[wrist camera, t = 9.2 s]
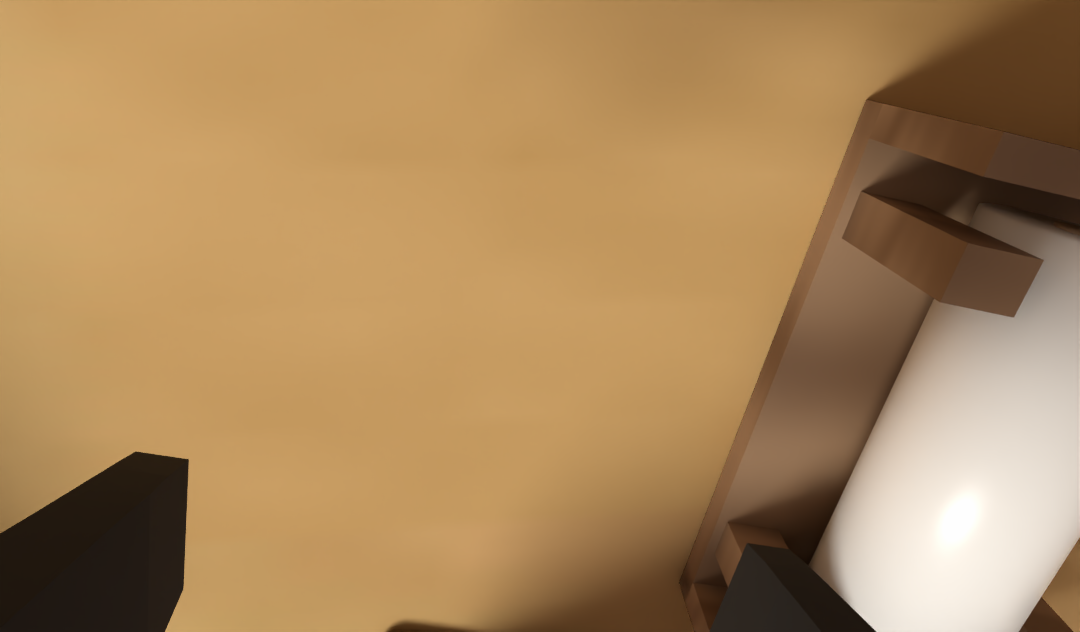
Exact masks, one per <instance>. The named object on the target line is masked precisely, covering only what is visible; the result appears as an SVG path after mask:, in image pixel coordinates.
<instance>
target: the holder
mask: <svg viewBox="0 0 1080 632" xmlns="http://www.w3.org/2000/svg"><path fill="white" fill-rule="evenodd" d="M979 203H991V204H997V205H1003V206H1008V207H1013V208H1017V209H1022V210H1026V211H1031V212H1035V213H1039V214H1043V215H1047V216H1051V217H1055V218H1059V219H1062V220H1066V221H1070V222H1074V223H1077V224H1080V150H1077V149H1073V148H1068V147H1064V146H1060V145H1056V144H1052V143H1048V142H1044V141H1040V140H1036V139H1032V138H1028V137H1024V136H1020V135H1016V134H1012V133H1007V132H1003V131H999V130H995V129H990V128H986V127H982V126H977V125H973V124H969V123H965V122H960V121H956V120H952V119H947V118H943V117H939V116H934V115H930V114H926V113H921V112H917V111H913V110H908V109H904V108H900V107H896V106H891V105H887V104H883V103H878V102H874V101H870V100H866V102H865V105H864V107H863V110H862V112H861V115H860V117H859V120H858V123H857V125H856V128H855V130H854V133H853V136H852V138H851V141H850V143H849V146H848V148H847V151H846V154H845V156H844V159H843V161H842V164H841V166H840V169H839V172H838V174H837V177H836V179H835V182H834V185H833V187H832V190H831V192H830V195H829V197H828V200H827V203H826V205H825V208H824V210H823V213H822V216H821V218H820V221H819V223H818V226H817V228H816V231H815V234H814V236H813V239H812V241H811V244H810V246H809V249H808V252H807V254H806V257H805V259H804V262H803V265H802V267H801V270H800V272H799V275H798V277H797V280H796V283H795V285H794V288H793V290H792V293H791V296H790V298H789V301H788V303H787V306H786V308H785V311H784V314H783V316H782V319H781V321H780V324H779V327H778V329H777V332H776V334H775V337H774V339H773V342H772V345H771V347H770V350H769V352H768V355H767V357H766V360H765V363H764V365H763V368H762V370H761V373H760V376H759V378H758V381H757V383H756V386H755V388H754V391H753V394H752V396H751V399H750V401H749V404H748V407H747V409H746V412H745V414H744V417H743V419H742V422H741V425H740V427H739V430H738V432H737V435H736V437H735V440H734V443H733V445H732V448H731V450H730V453H729V456H728V458H727V461H726V463H725V466H724V468H723V471H722V474H721V476H720V479H719V481H718V484H717V487H716V489H715V492H714V494H713V497H712V499H711V502H710V505H709V507H708V510H707V512H706V515H705V518H704V520H703V523H702V525H701V528H700V530H699V533H698V536H697V538H696V541H695V543H694V546H693V548H692V551H691V554H690V556H689V559H688V561H687V564H686V567H685V569H684V572H683V574H682V577H681V579H680V582H679V584H680V588H681V591H682V594H683V597H684V600H685V603H686V607H687V610H688V613H689V616H690V619H691V622H692V626H693V629H694V632H709V631H710V629H711V627H712V624H713V622H714V620H715V617H716V615H717V613H718V610H719V608H720V605H721V603H722V601H723V598H724V596H725V594H726V591H727V589H728V587H729V584H730V582H731V579H732V577H733V575H734V572H735V570H736V568H737V565H738V563H739V561H740V558H741V556H742V553H743V551H744V549H745V546H746V544H747V543H751V544H758V545H765V546H771V547H778V548H785V549H790V550H791V551H792V552H793V553H794V554H795V555H797V556H798V557H799V558H800V559H801V560H802V561H803V562H805V563H806V564H807V565H809V563H810V561H811V559H812V557H813V555H814V552H815V550H816V548H817V546H818V544H819V542H820V540H821V538H822V536H823V533H824V531H825V529H826V527H827V525H828V523H829V521H830V519H831V516H832V514H833V512H834V510H835V508H836V506H837V504H838V502H839V499H840V497H841V495H842V493H843V491H844V489H845V487H846V485H847V482H848V480H849V478H850V476H851V474H852V472H853V470H854V468H855V465H856V463H857V461H858V459H859V457H860V455H861V453H862V451H863V449H864V446H865V444H866V442H867V440H868V438H869V436H870V434H871V432H872V429H873V427H874V425H875V423H876V421H877V419H878V417H879V415H880V412H881V410H882V408H883V406H884V404H885V402H886V400H887V398H888V395H889V393H890V391H891V389H892V387H893V385H894V383H895V381H896V378H897V376H898V374H899V372H900V370H901V368H902V366H903V364H904V362H905V359H906V357H907V355H908V353H909V351H910V349H911V347H912V345H913V342H914V340H915V338H916V336H917V334H918V332H919V330H920V328H921V325H922V323H923V321H924V319H925V317H926V315H927V313H928V311H929V308H930V306H931V304H932V302H933V300H934V299H935V300H937V301H939V302H940V303H945V304H950V305H955V306H960V307H965V308H969V309H974V310H979V311H984V312H989V313H994V314H999V315H1003V316H1008V317H1013V318H1014V317H1015V315H1016V313H1017V311H1018V309H1019V307H1020V305H1021V303H1022V301H1023V299H1024V297H1025V296H1026V294H1027V292H1028V290H1029V288H1030V286H1031V284H1032V282H1033V280H1034V278H1035V277H1036V275H1037V273H1038V271H1039V269H1040V267H1041V265H1042V263H1043V261H1044V260H1043V259H1040V258H1038V257H1036V256H1034V255H1032V254H1029V253H1027V252H1025V251H1023V250H1020V249H1018V248H1016V247H1014V246H1012V245H1009V244H1007V243H1005V242H1003V241H1001V240H998V239H996V238H994V237H992V236H989V235H987V234H985V233H983V232H981V231H978V230H976V229H974V228H972V227H969V224H970V221H971V219H972V217H973V215H974V213H975V211H976V209H977V207H978V205H979ZM1019 632H1073V631H1072V630H1071V629H1070V628H1069V627H1068V625H1067V624H1066V623H1065V622H1064V621H1063V620H1062V619H1061V618H1060V617H1059V616H1058V615H1057V614H1056V613H1055V611H1054V610H1053V609H1052V608H1051V607H1050V606H1049V605H1048V604H1047V603H1046V602H1045V601H1044V600H1043V599H1042V597H1041V598H1040V600H1039V601H1038V603H1037V604H1036V606H1035V607H1034V609H1033V610H1032V612H1031V614H1030V615H1029V617H1028V618H1027V620H1026V621H1025V623H1024V624H1023V626H1022V627H1021V629H1020V631H1019Z"/></svg>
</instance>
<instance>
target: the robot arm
mask: <svg viewBox="0 0 1080 632" xmlns="http://www.w3.org/2000/svg"><path fill="white" fill-rule="evenodd" d="M188 462H189V460H188V459H182V458H175V457H168V456H162V455H155V454H148V453H142V452H134V453H133V454H131V455H129V456H127V457H126V458H124V459H122V460H121V461H119V462H117V463H116V464H114V465H112V466H111V467H109V468H107V469H106V470H104V471H103V472H101V473H99V474H98V475H96V476H94V477H93V478H91V479H89V480H88V481H86V482H85V483H83V484H81V485H80V486H78V487H76V488H75V489H73V490H71V491H70V492H68V493H67V494H65V495H63V496H62V497H60V498H58V499H57V500H55V501H54V502H52V503H50V504H49V505H47V506H45V507H44V508H42V509H40V510H39V511H37V512H35V513H34V514H32V515H31V516H29V517H27V518H26V519H24V520H22V521H21V522H19V523H17V524H16V525H14V526H12V527H11V528H9V529H7V530H6V531H4V532H2V533H0V632H165V630H166V628H167V625H168V623H169V621H170V618H171V616H172V614H173V611H174V609H175V607H176V604H177V602H178V600H179V598H180V595H181V593H182V591H183V584H184V560H185V535H186V511H187V487H188ZM709 632H876V631H875V630H874V629H873V628H872V627H871V626H870V625H869V624H868V623H867V622H866V621H865V620H864V619H863V618H862V617H861V616H860V615H859V614H858V613H857V612H856V611H855V610H854V609H853V608H852V607H851V606H850V605H849V604H848V603H847V602H846V601H845V600H844V599H843V598H842V597H841V596H839V595H838V594H837V593H836V592H835V591H834V590H833V589H832V588H831V587H830V586H829V585H828V584H827V583H826V582H825V581H824V580H823V579H822V578H821V577H820V576H819V575H818V574H817V573H815V572H814V571H813V570H812V569H811V568H810V567H809V566H808V565H807V564H806V563H805V562H803V561H802V560H801V559H800V558H799V557H798V556H797V555H795V554H794V553H793V552H792V551H791V550H790V549H785V548H778V547H771V546H765V545H758V544H751V543H747V544H746V546H745V549H744V551H743V553H742V556H741V558H740V561H739V563H738V565H737V568H736V570H735V572H734V575H733V577H732V579H731V582H730V584H729V587H728V589H727V591H726V594H725V596H724V598H723V601H722V603H721V605H720V608H719V610H718V613H717V615H716V617H715V620H714V622H713V624H712V627H711V629H710V631H709Z"/></svg>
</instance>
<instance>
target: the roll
mask: <svg viewBox="0 0 1080 632" xmlns="http://www.w3.org/2000/svg"><path fill="white" fill-rule="evenodd" d="M969 227H972V228H974V229H976V230H978V231H981V232H983V233H985V234H987V235H989V236H992V237H994V238H996V239H998V240H1001V241H1003V242H1005V243H1007V244H1009V245H1012V246H1014V247H1016V248H1018V249H1020V250H1023V251H1025V252H1027V253H1029V254H1032V255H1034V256H1036V257H1038V258H1040V259H1043V260H1044V261H1043V263H1042V265H1041V267H1040V269H1039V271H1038V273H1037V275H1036V277H1035V278H1034V280H1033V282H1032V284H1031V286H1030V288H1029V290H1028V292H1027V294H1026V296H1025V297H1024V299H1023V301H1022V303H1021V305H1020V307H1019V309H1018V311H1017V313H1016V315H1015V317H1014V318H1013V317H1008V316H1003V315H999V314H994V313H989V312H984V311H979V310H974V309H969V308H965V307H960V306H955V305H950V304H945V303H940V302H939V301H937V300H935V299H934V300H933V302H932V304H931V306H930V308H929V311H928V313H927V315H926V317H925V319H924V321H923V323H922V325H921V328H920V330H919V332H918V334H917V336H916V338H915V340H914V342H913V345H912V347H911V349H910V351H909V353H908V355H907V357H906V359H905V362H904V364H903V366H902V368H901V370H900V372H899V374H898V376H897V378H896V381H895V383H894V385H893V387H892V389H891V391H890V393H889V395H888V398H887V400H886V402H885V404H884V406H883V408H882V410H881V412H880V415H879V417H878V419H877V421H876V423H875V425H874V427H873V429H872V432H871V434H870V436H869V438H868V440H867V442H866V444H865V446H864V449H863V451H862V453H861V455H860V457H859V459H858V461H857V463H856V465H855V468H854V470H853V472H852V474H851V476H850V478H849V480H848V482H847V485H846V487H845V489H844V491H843V493H842V495H841V497H840V499H839V502H838V504H837V506H836V508H835V510H834V512H833V514H832V516H831V519H830V521H829V523H828V525H827V527H826V529H825V531H824V533H823V536H822V538H821V540H820V542H819V544H818V546H817V548H816V550H815V552H814V555H813V557H812V559H811V561H810V563H809V565H808V566H809V567H810V568H811V569H812V570H813V571H814V572H815V573H817V574H818V575H819V576H820V577H821V578H822V579H823V580H824V581H825V582H826V583H827V584H828V585H829V586H830V587H831V588H832V589H833V590H834V591H835V592H836V593H837V594H838V595H839V596H841V597H842V598H843V599H844V600H845V601H846V602H847V603H848V604H849V605H850V606H851V607H852V608H853V609H854V610H855V611H856V612H857V613H858V614H859V615H860V616H861V617H862V618H863V619H864V620H865V621H866V622H867V623H868V624H869V625H870V626H871V627H872V628H873V629H874V630H875V631H876V632H1019V631H1020V629H1021V627H1022V626H1023V624H1024V623H1025V621H1026V620H1027V618H1028V617H1029V615H1030V614H1031V612H1032V610H1033V609H1034V607H1035V606H1036V604H1037V603H1038V601H1039V600H1040V598H1041V597H1042V595H1043V593H1044V592H1045V590H1046V589H1047V587H1048V586H1049V584H1050V583H1051V581H1052V580H1053V578H1054V576H1055V575H1056V573H1057V572H1058V570H1059V569H1060V567H1061V566H1062V564H1063V563H1064V561H1065V559H1066V558H1067V556H1068V555H1069V553H1070V552H1071V550H1072V549H1073V547H1074V545H1075V544H1076V542H1077V541H1078V539H1079V538H1080V224H1077V223H1074V222H1070V221H1066V220H1062V219H1059V218H1055V217H1051V216H1047V215H1043V214H1039V213H1035V212H1031V211H1026V210H1022V209H1017V208H1013V207H1008V206H1003V205H997V204H991V203H979V205H978V207H977V209H976V211H975V213H974V215H973V217H972V219H971V221H970V224H969Z"/></svg>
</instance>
